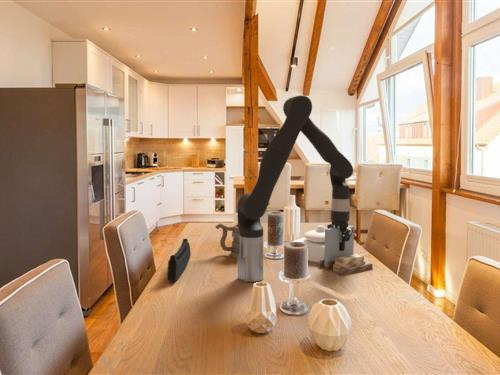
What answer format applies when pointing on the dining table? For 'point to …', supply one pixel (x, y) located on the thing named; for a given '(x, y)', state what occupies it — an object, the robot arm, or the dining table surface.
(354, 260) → the offcut upper
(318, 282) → the dining table surface
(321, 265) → the walnut rack
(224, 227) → the tankard
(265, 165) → the robot arm
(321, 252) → the butter dish
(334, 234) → the grey board
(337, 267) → the offcut lower
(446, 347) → the dining table surface
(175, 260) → the black curved panel
